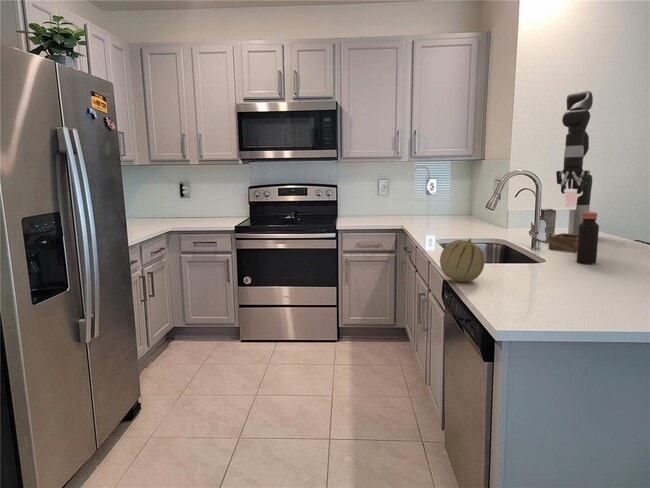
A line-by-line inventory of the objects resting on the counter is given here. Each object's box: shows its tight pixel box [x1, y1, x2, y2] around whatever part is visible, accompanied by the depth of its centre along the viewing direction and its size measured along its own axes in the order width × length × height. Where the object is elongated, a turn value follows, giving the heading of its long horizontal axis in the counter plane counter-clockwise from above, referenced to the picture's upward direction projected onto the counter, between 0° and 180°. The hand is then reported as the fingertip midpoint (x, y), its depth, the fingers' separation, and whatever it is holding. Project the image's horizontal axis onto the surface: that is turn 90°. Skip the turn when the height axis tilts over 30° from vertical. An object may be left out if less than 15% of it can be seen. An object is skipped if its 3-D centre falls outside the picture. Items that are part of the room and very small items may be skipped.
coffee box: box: [540, 208, 557, 243], centre depth 224 cm, size 9×6×16 cm
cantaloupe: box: [439, 238, 485, 283], centre depth 149 cm, size 15×15×15 cm
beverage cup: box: [564, 179, 579, 211], centre depth 197 cm, size 6×6×14 cm
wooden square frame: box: [548, 232, 578, 253], centre depth 201 cm, size 12×12×6 cm
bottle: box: [575, 211, 600, 265], centre depth 171 cm, size 7×7×20 cm
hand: (571, 193), depth 197 cm, fingers closed on beverage cup, 6 cm apart
